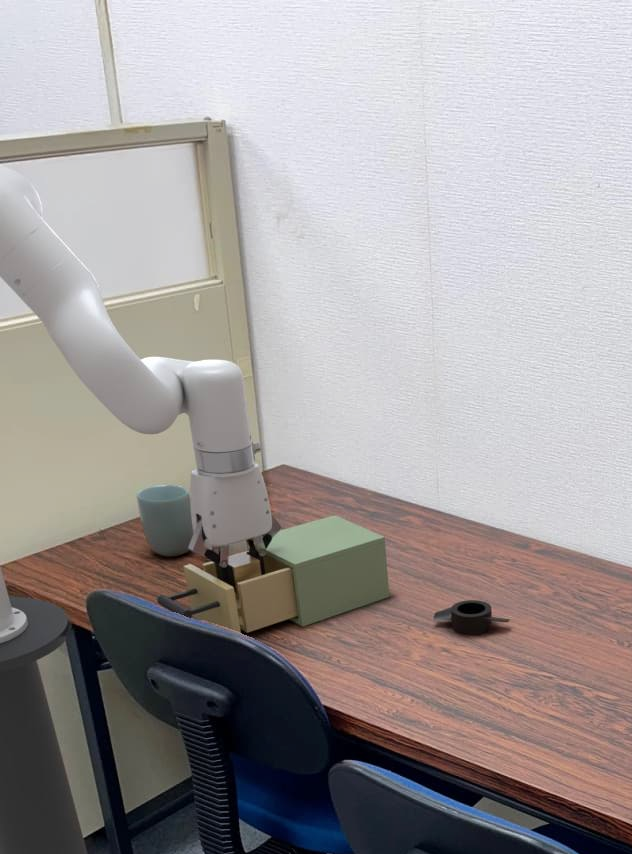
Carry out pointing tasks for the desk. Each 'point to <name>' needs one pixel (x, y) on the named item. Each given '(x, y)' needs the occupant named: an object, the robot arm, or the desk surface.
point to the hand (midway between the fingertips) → (242, 584)
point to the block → (244, 568)
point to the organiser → (332, 566)
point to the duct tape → (469, 617)
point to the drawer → (238, 597)
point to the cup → (166, 519)
